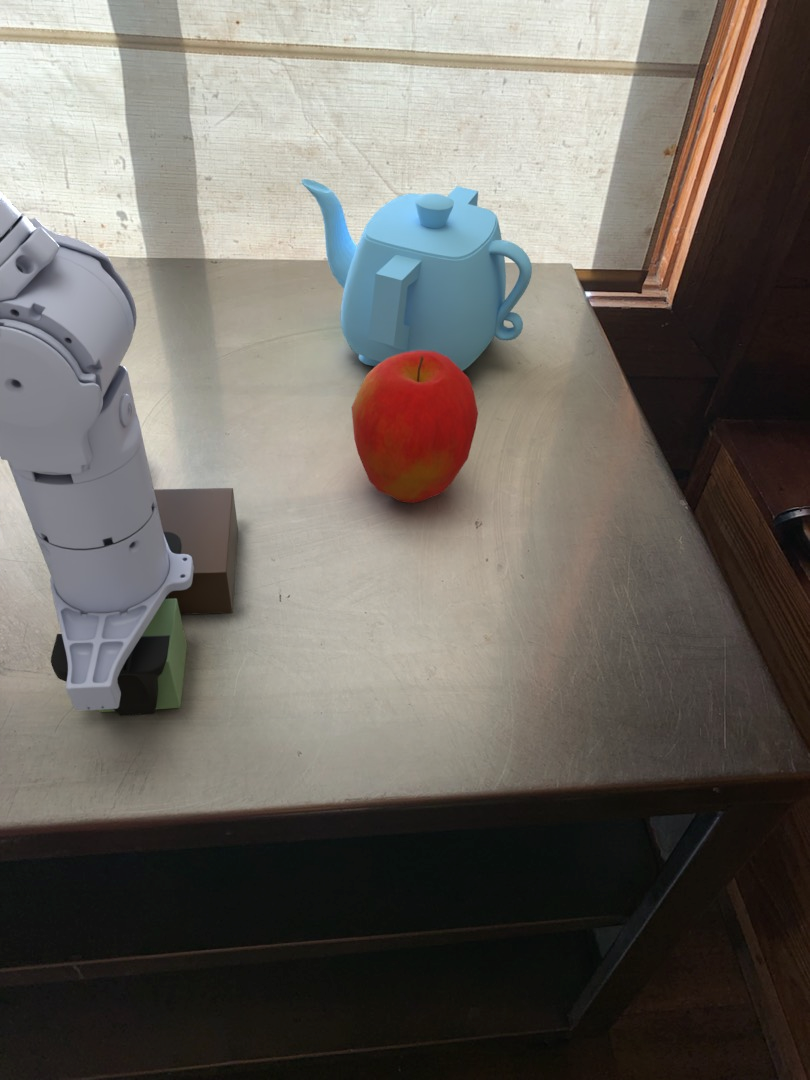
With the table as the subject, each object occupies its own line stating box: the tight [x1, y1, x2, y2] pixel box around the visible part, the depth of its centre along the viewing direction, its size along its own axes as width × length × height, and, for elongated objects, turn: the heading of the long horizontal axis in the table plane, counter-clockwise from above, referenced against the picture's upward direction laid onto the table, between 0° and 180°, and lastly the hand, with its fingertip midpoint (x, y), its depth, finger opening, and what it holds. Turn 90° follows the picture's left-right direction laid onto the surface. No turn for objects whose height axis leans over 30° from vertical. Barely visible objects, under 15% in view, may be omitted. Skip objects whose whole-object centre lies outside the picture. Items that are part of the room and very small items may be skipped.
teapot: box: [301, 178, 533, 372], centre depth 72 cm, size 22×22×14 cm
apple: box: [351, 351, 479, 504], centre depth 58 cm, size 9×9×12 cm
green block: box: [98, 599, 188, 713], centre depth 46 cm, size 5×5×5 cm
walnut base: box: [154, 487, 239, 615], centre depth 53 cm, size 8×8×4 cm
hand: (143, 673), depth 47 cm, fingers closed on green block, 4 cm apart
